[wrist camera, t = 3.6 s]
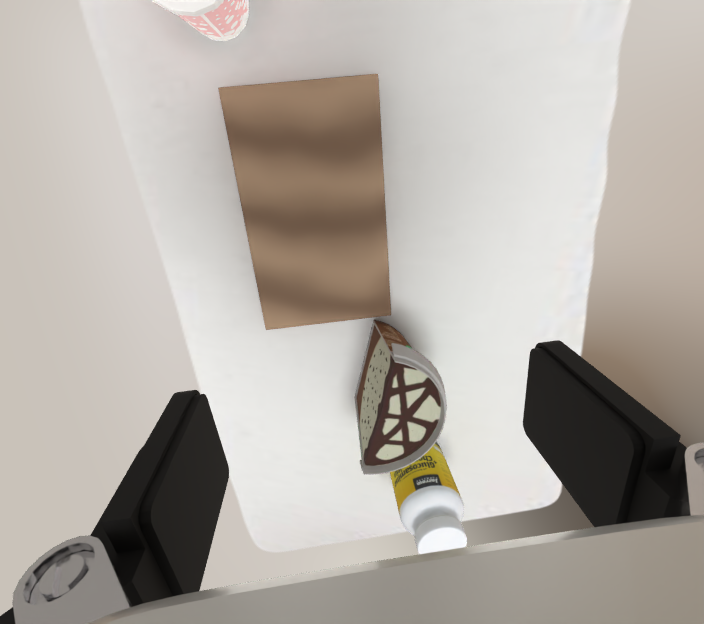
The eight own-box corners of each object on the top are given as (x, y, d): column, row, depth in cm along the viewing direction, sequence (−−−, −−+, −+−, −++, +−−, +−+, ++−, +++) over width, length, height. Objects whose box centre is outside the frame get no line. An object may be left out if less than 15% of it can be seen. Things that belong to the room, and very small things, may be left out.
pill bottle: (436, 426, 44) (475, 513, 33) (442, 467, 47) (480, 560, 36) (382, 438, 44) (403, 529, 33) (390, 478, 47) (413, 575, 36)
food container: (404, 414, 43) (429, 484, 34) (351, 408, 42) (362, 479, 33) (435, 315, 39) (472, 365, 30) (376, 306, 38) (396, 355, 29)
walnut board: (222, 90, 30) (218, 87, 28) (375, 77, 30) (378, 73, 29) (267, 323, 37) (265, 329, 36) (388, 309, 38) (391, 315, 37)
